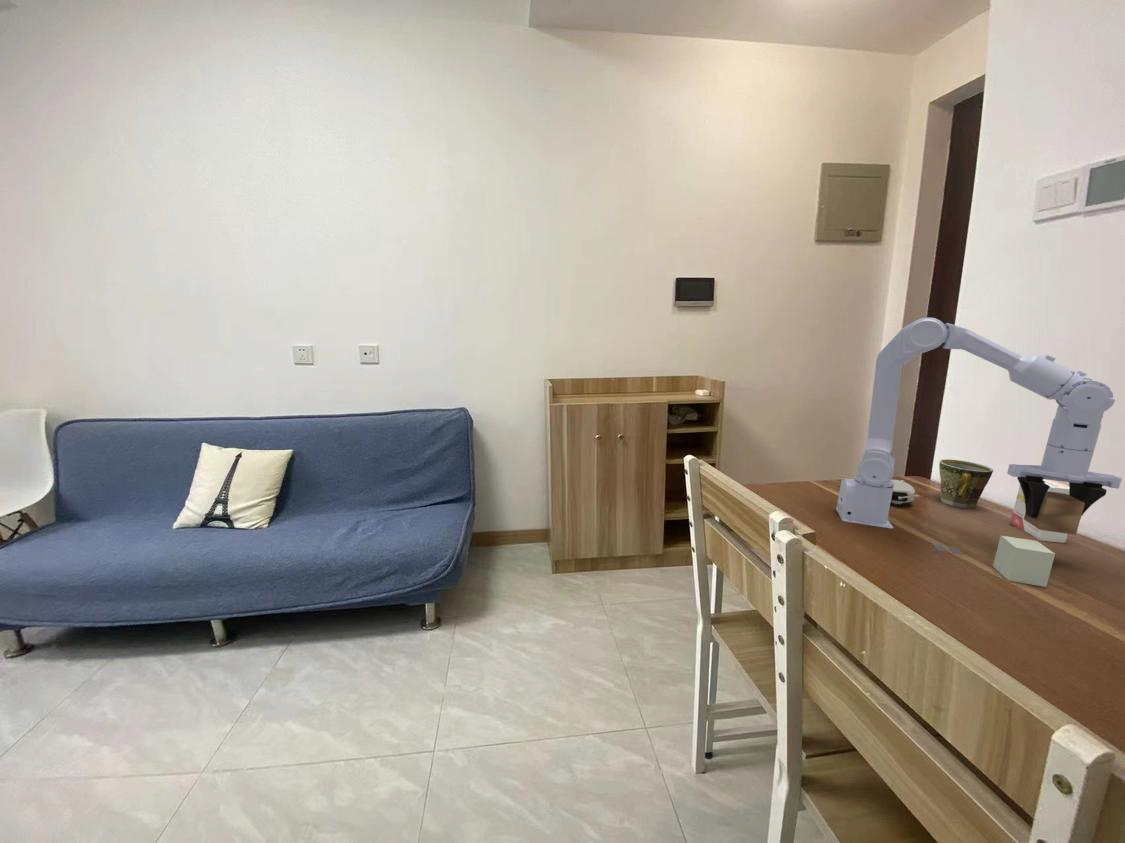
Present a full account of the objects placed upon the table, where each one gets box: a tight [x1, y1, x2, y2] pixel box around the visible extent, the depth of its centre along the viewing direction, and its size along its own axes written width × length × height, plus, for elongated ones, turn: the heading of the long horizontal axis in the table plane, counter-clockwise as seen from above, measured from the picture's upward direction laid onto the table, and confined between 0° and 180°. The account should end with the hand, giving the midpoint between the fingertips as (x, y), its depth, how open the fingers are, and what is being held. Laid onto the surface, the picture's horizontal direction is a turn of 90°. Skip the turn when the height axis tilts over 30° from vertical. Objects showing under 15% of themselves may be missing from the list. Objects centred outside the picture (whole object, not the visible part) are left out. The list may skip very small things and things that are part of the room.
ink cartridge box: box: [1009, 476, 1069, 544], centre depth 97 cm, size 9×5×15 cm, turn 168°
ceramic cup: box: [938, 458, 994, 509], centre depth 112 cm, size 13×10×10 cm
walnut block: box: [1024, 491, 1085, 536], centre depth 84 cm, size 5×5×6 cm
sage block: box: [992, 535, 1056, 588], centre depth 79 cm, size 5×5×6 cm
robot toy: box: [840, 477, 920, 505], centre depth 116 cm, size 12×4×15 cm
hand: (1050, 518), depth 84 cm, fingers closed on walnut block, 5 cm apart
